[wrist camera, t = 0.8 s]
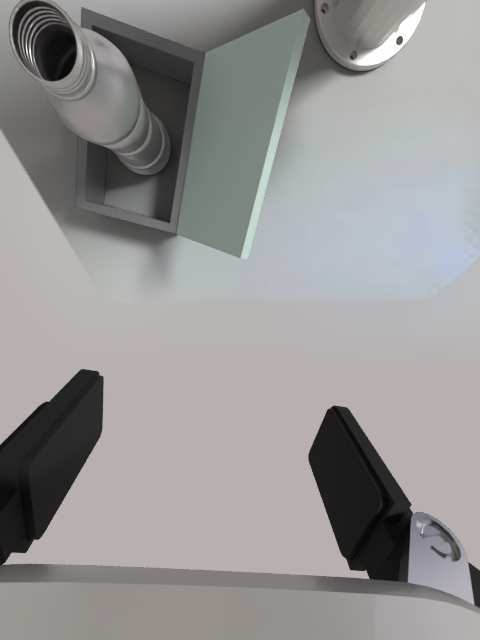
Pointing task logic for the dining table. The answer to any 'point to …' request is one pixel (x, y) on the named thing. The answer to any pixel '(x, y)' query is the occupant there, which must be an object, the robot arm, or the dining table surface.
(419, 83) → the dining table surface
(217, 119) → the cover
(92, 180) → the grey open box
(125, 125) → the plastic bottle
